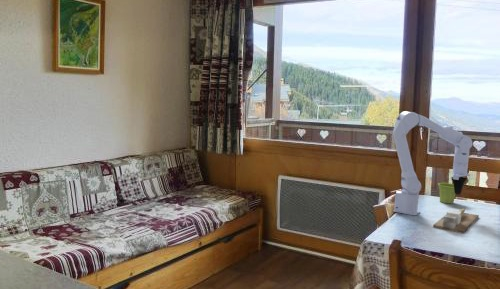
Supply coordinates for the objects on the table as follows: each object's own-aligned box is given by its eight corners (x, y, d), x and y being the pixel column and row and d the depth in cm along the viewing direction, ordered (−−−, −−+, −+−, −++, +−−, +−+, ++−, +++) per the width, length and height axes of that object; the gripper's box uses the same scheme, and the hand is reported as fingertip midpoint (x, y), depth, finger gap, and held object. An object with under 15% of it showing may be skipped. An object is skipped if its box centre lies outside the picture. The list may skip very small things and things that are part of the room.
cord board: (433, 227, 182) (434, 214, 181) (451, 212, 206) (452, 201, 205) (463, 233, 175) (464, 220, 175) (478, 217, 200) (479, 206, 199)
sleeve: (445, 222, 184) (446, 212, 184) (448, 220, 188) (449, 209, 188) (457, 225, 182) (458, 214, 181) (460, 222, 186) (461, 211, 185)
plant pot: (458, 202, 227) (460, 184, 226) (455, 205, 219) (457, 187, 218) (438, 199, 232) (440, 182, 231) (434, 202, 224) (436, 184, 223)
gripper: (467, 165, 191) (464, 198, 193) (474, 162, 203) (471, 192, 204) (449, 163, 195) (446, 195, 197) (456, 160, 207) (454, 190, 209)
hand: (457, 193), depth 201 cm, fingers closed
